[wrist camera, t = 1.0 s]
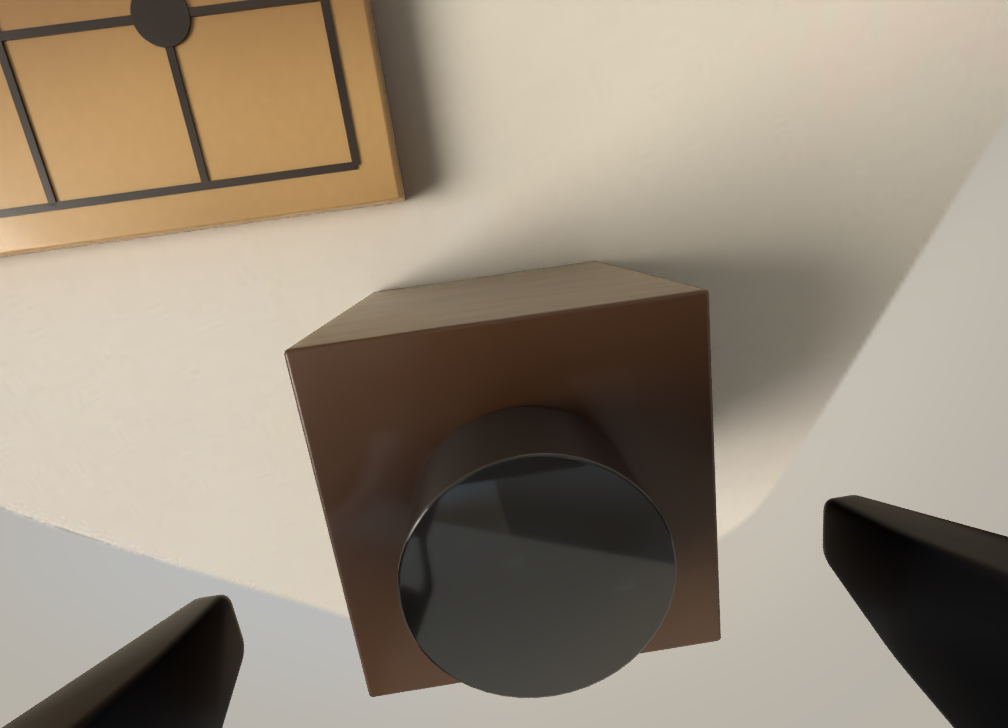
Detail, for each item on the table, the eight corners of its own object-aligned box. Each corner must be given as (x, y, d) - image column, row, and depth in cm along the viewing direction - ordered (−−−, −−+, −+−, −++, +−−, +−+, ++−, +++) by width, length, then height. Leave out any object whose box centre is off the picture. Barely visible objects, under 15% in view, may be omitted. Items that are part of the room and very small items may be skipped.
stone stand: (614, 465, 18) (722, 641, 10) (412, 496, 18) (368, 699, 10) (596, 260, 16) (710, 288, 9) (372, 292, 16) (281, 350, 8)
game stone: (642, 589, 10) (684, 676, 8) (432, 622, 10) (423, 719, 8) (626, 389, 9) (670, 433, 7) (392, 424, 9) (371, 478, 7)
